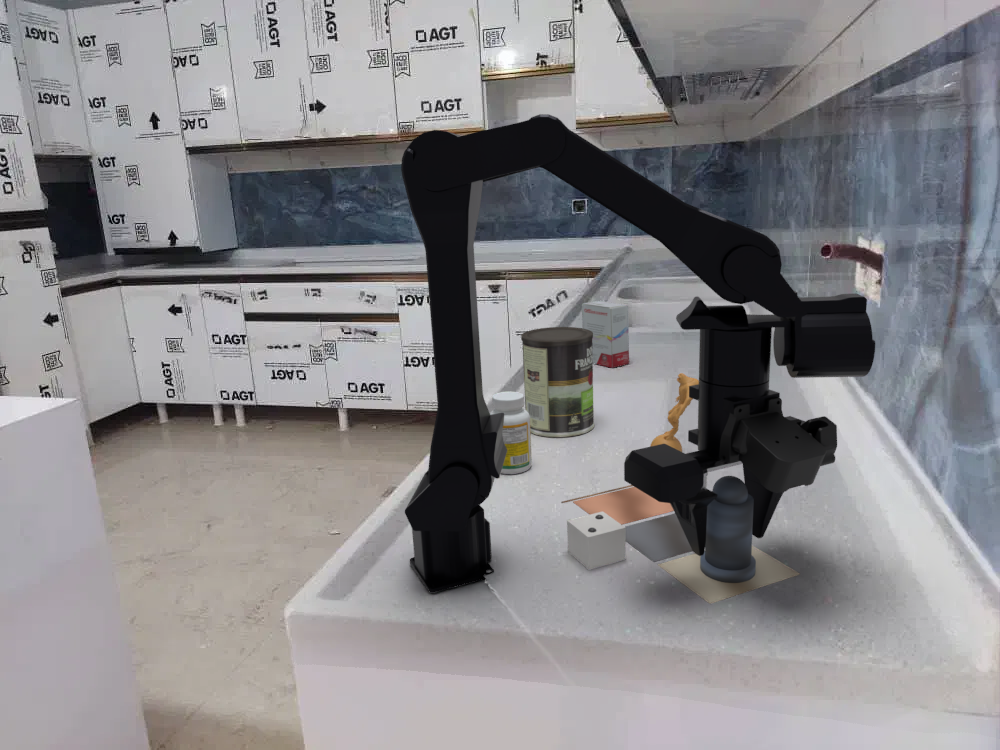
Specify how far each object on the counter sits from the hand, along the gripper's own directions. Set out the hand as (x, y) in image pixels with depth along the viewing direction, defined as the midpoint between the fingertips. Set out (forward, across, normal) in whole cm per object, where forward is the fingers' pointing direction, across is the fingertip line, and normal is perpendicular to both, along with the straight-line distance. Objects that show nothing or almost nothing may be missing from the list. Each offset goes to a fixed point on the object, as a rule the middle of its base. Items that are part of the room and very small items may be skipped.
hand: (728, 545), depth 67 cm
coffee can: (+3, +7, +45) cm, 46 cm away
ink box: (+3, +33, +74) cm, 81 cm away
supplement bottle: (+3, -6, +34) cm, 35 cm away
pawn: (+2, 0, 0) cm, 2 cm away
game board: (+3, 0, +8) cm, 9 cm away
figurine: (+3, +12, +24) cm, 27 cm away
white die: (+3, -9, +8) cm, 12 cm away
